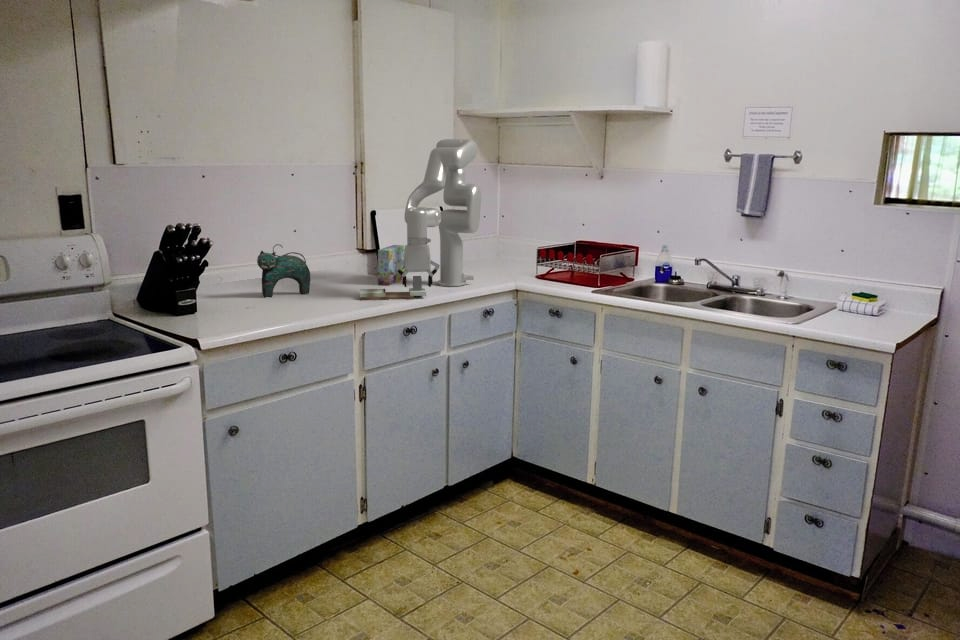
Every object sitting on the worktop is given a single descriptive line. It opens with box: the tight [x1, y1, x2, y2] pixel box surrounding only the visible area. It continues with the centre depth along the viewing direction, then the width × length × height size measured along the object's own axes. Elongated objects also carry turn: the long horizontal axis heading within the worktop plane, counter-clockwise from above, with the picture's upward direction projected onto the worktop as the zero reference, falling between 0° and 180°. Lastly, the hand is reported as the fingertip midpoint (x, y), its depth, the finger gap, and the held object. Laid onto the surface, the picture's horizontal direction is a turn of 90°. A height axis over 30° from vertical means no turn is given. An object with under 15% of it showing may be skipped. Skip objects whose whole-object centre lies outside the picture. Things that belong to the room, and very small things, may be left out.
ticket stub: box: [408, 275, 427, 297], centre depth 281 cm, size 6×9×6 cm, turn 8°
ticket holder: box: [359, 288, 414, 301], centre depth 280 cm, size 20×11×3 cm, turn 98°
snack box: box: [377, 244, 405, 286], centre depth 315 cm, size 21×6×15 cm, turn 168°
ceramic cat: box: [256, 243, 311, 298], centre depth 280 cm, size 20×6×20 cm, turn 121°
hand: (417, 286), depth 281 cm, fingers open, 9 cm apart
